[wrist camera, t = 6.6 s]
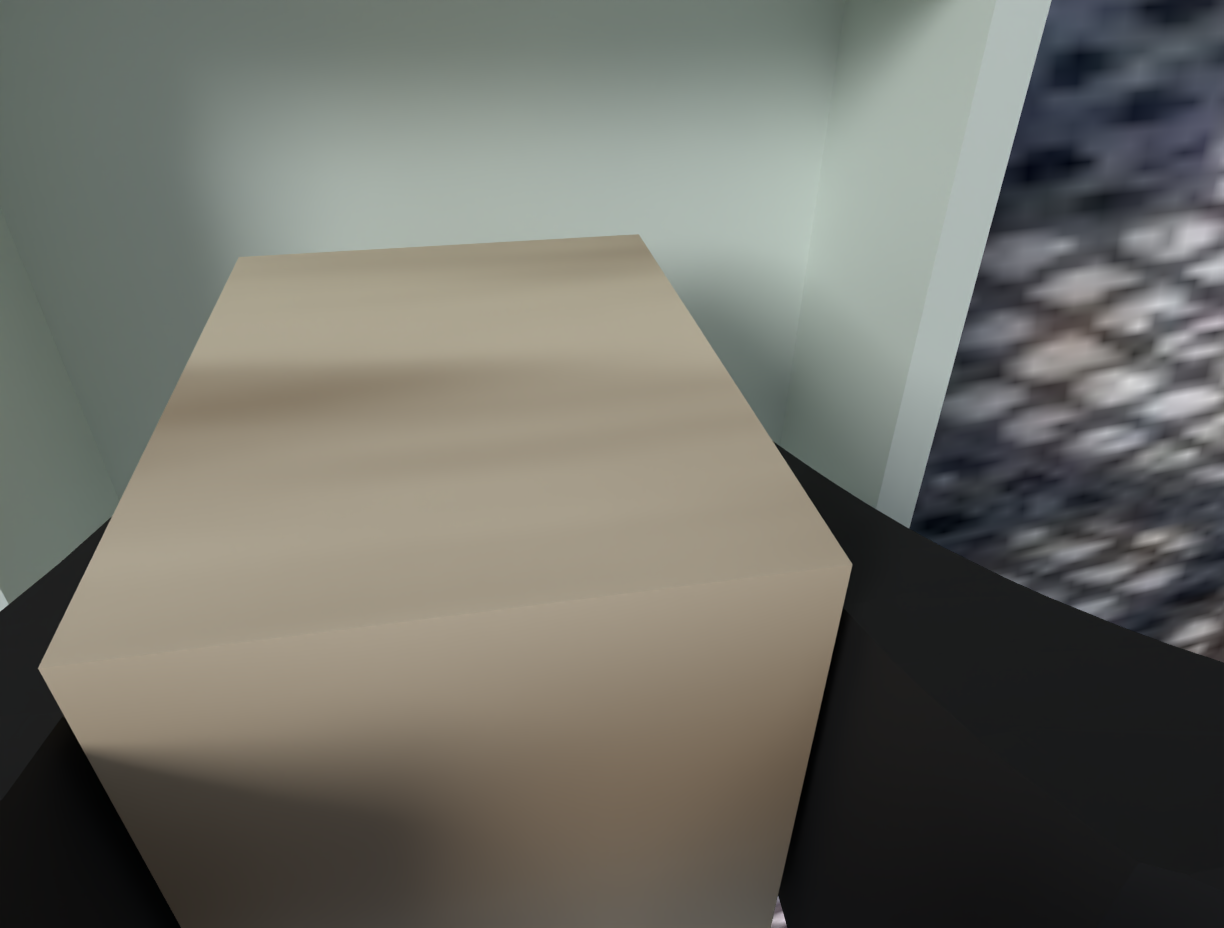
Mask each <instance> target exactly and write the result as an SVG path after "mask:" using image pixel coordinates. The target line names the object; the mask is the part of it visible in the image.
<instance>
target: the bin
mask: <svg viewBox="0 0 1224 928" xmlns="http://www.w3.org/2000/svg"><path fill="white" fill-rule="evenodd" d="M1050 4H1051V0H0V611H1V610H3V609H4V608H5V607H6V606H7V605H9V604H10V603H11V602H12V601H14V600H15V599H16V598H17V597H18V596H20V595H21V594H22V593H23V592H25V591H26V590H27V589H28V588H29V587H31V586H32V585H33V584H34V583H36V582H37V581H38V580H39V579H41V578H42V577H43V576H44V575H45V574H47V573H48V572H49V571H50V570H52V569H53V568H54V567H55V566H56V565H58V564H59V563H60V562H61V561H62V560H63V559H65V558H66V557H67V556H68V555H69V554H70V553H71V552H72V551H74V550H75V549H76V548H77V547H78V546H79V545H80V544H81V543H83V542H84V541H85V540H86V539H87V538H88V537H89V536H90V535H91V534H93V533H94V532H95V531H96V530H97V529H98V528H99V527H100V526H102V525H103V524H104V523H105V522H106V521H107V520H108V519H109V518H110V517H112V516H113V514H114V512H115V510H116V508H117V506H118V503H119V501H120V499H121V497H122V495H123V493H124V491H125V489H126V487H127V485H128V483H129V481H130V479H131V477H132V475H133V473H134V471H135V469H136V467H137V465H138V462H139V460H140V458H141V456H142V454H143V452H144V450H145V448H146V446H147V444H148V442H149V440H150V438H151V436H152V434H153V432H154V430H155V428H156V426H157V424H158V422H159V419H160V417H161V415H162V413H163V411H164V409H165V407H166V405H167V403H168V401H169V399H170V397H171V395H172V393H173V391H174V389H175V387H176V385H177V383H178V381H179V378H180V376H181V374H182V372H183V370H184V368H185V366H186V364H187V362H188V360H189V358H190V356H191V354H192V352H193V350H194V348H195V346H196V344H197V342H198V340H199V338H200V335H201V333H202V331H203V329H204V327H205V325H206V323H207V321H208V319H209V317H210V315H211V313H212V311H213V309H214V307H215V305H216V303H217V301H218V299H219V297H220V294H221V292H222V290H223V288H224V286H225V284H226V282H227V280H228V278H229V276H230V274H231V272H232V270H233V268H234V266H235V264H236V262H237V260H238V258H239V257H248V256H266V255H283V254H301V253H318V252H336V251H353V250H371V249H389V248H406V247H424V246H441V245H459V244H476V243H494V242H512V241H529V240H547V239H564V238H582V237H600V236H617V235H635V234H639V235H640V237H641V239H642V240H643V242H644V243H645V245H646V246H647V248H648V249H649V251H650V252H651V254H652V256H653V257H654V259H655V260H656V262H657V263H658V265H659V266H660V268H661V269H662V271H663V273H664V274H665V276H666V277H667V279H668V280H669V282H670V283H671V285H672V286H673V288H674V290H675V291H676V293H677V294H678V296H679V297H680V299H681V300H682V302H683V303H684V305H685V307H686V308H687V310H688V311H689V313H690V314H691V316H692V317H693V319H694V320H695V322H696V324H697V325H698V327H699V328H700V330H701V331H702V333H703V334H704V336H705V337H706V339H707V341H708V342H709V344H710V345H711V347H712V348H713V350H714V351H715V353H716V354H717V356H718V358H719V359H720V361H721V362H722V364H723V365H724V367H725V368H726V370H727V371H728V373H729V375H730V376H731V378H732V379H733V381H734V382H735V384H736V385H737V387H738V388H739V390H740V392H741V393H742V395H743V396H744V398H745V399H746V401H747V402H748V404H749V405H750V407H751V409H752V410H753V412H754V413H755V415H756V416H757V418H758V419H759V421H760V422H761V424H762V426H763V427H764V429H765V430H766V432H767V433H768V435H769V436H770V438H771V439H772V441H774V442H775V443H777V444H778V445H779V446H781V447H782V448H784V449H785V450H786V451H788V452H789V453H791V454H792V455H794V456H795V457H797V458H798V459H799V460H801V461H802V462H804V463H805V464H807V465H808V466H810V467H811V468H813V469H814V470H816V471H817V472H818V473H820V474H821V475H823V476H824V477H826V478H827V479H829V480H831V481H832V482H834V483H835V484H837V485H838V486H840V487H841V488H843V489H844V490H846V491H848V492H849V493H851V494H852V495H854V496H855V497H857V498H859V499H860V500H862V501H863V502H865V503H867V504H868V505H870V506H872V507H873V508H875V509H877V510H878V511H880V512H882V513H883V514H885V515H887V516H889V517H890V518H892V519H894V520H895V521H897V522H899V523H900V524H902V525H904V526H905V527H907V528H910V524H911V520H912V516H913V513H914V509H915V505H916V502H917V498H918V494H919V490H920V487H921V483H922V479H923V476H924V472H925V468H926V464H927V461H928V457H929V453H930V450H931V446H932V442H933V438H934V435H935V431H936V427H937V424H938V420H939V416H940V412H941V409H942V405H943V401H944V398H945V394H946V390H947V386H948V383H949V379H950V375H951V372H952V368H953V364H954V360H955V357H956V353H957V349H958V346H959V342H960V338H961V334H962V331H963V327H964V323H965V320H966V316H967V312H968V308H969V305H970V301H971V297H972V294H973V290H974V286H975V282H976V279H977V275H978V271H979V268H980V264H981V260H982V256H983V253H984V249H985V245H986V242H987V238H988V234H989V230H990V227H991V223H992V219H993V216H994V212H995V208H996V204H997V201H998V197H999V193H1000V190H1001V186H1002V182H1003V178H1004V175H1005V171H1006V167H1007V164H1008V160H1009V156H1010V152H1011V149H1012V145H1013V141H1014V138H1015V134H1016V130H1017V126H1018V123H1019V119H1020V115H1021V112H1022V108H1023V104H1024V100H1025V97H1026V93H1027V89H1028V86H1029V82H1030V78H1031V74H1032V71H1033V67H1034V63H1035V60H1036V56H1037V52H1038V48H1039V45H1040V41H1041V37H1042V34H1043V30H1044V26H1045V22H1046V19H1047V15H1048V11H1049V8H1050Z"/></svg>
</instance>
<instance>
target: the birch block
mask: <svg viewBox="0 0 1224 928" xmlns="http://www.w3.org/2000/svg"><path fill="white" fill-rule="evenodd" d="M851 569H852V563H851V562H850V560H849V558H848V557H847V555H846V554H845V552H844V551H843V549H842V548H841V546H840V545H839V543H838V541H837V540H836V538H835V537H834V535H833V534H832V532H831V531H830V529H829V528H828V526H827V524H826V523H825V521H824V520H823V518H822V517H821V515H820V514H819V512H818V511H817V509H816V507H815V506H814V504H813V503H812V501H811V500H810V498H809V497H808V495H807V494H806V492H805V490H804V489H803V487H802V486H801V484H800V483H799V481H798V480H797V478H796V477H795V475H794V473H793V472H792V470H791V469H790V467H789V466H788V464H787V463H786V461H785V460H784V458H783V456H782V455H781V453H780V452H779V450H778V449H777V447H776V446H775V444H774V443H773V441H772V439H771V438H770V436H769V435H768V433H767V432H766V430H765V429H764V427H763V426H762V424H761V422H760V421H759V419H758V418H757V416H756V415H755V413H754V412H753V410H752V409H751V407H750V405H749V404H748V402H747V401H746V399H745V398H744V396H743V395H742V393H741V392H740V390H739V388H738V387H737V385H736V384H735V382H734V381H733V379H732V378H731V376H730V375H729V373H728V371H727V370H726V368H725V367H724V365H723V364H722V362H721V361H720V359H719V358H718V356H717V354H716V353H715V351H714V350H713V348H712V347H711V345H710V344H709V342H708V341H707V339H706V337H705V336H704V334H703V333H702V331H701V330H700V328H699V327H698V325H697V324H696V322H695V320H694V319H693V317H692V316H691V314H690V313H689V311H688V310H687V308H686V307H685V305H684V303H683V302H682V300H681V299H680V297H679V296H678V294H677V293H676V291H675V290H674V288H673V286H672V285H671V283H670V282H669V280H668V279H667V277H666V276H665V274H664V273H663V271H662V269H661V268H660V266H659V265H658V263H657V262H656V260H655V259H654V257H653V256H652V254H651V252H650V251H649V249H648V248H647V246H646V245H645V243H644V242H643V240H642V239H641V237H640V235H639V234H635V235H617V236H600V237H582V238H564V239H547V240H529V241H512V242H494V243H476V244H459V245H441V246H424V247H406V248H389V249H371V250H353V251H336V252H318V253H301V254H283V255H266V256H248V257H239V258H238V260H237V262H236V264H235V266H234V268H233V270H232V272H231V274H230V276H229V278H228V280H227V282H226V284H225V286H224V288H223V290H222V292H221V294H220V297H219V299H218V301H217V303H216V305H215V307H214V309H213V311H212V313H211V315H210V317H209V319H208V321H207V323H206V325H205V327H204V329H203V331H202V333H201V335H200V338H199V340H198V342H197V344H196V346H195V348H194V350H193V352H192V354H191V356H190V358H189V360H188V362H187V364H186V366H185V368H184V370H183V372H182V374H181V376H180V378H179V381H178V383H177V385H176V387H175V389H174V391H173V393H172V395H171V397H170V399H169V401H168V403H167V405H166V407H165V409H164V411H163V413H162V415H161V417H160V419H159V422H158V424H157V426H156V428H155V430H154V432H153V434H152V436H151V438H150V440H149V442H148V444H147V446H146V448H145V450H144V452H143V454H142V456H141V458H140V460H139V462H138V465H137V467H136V469H135V471H134V473H133V475H132V477H131V479H130V481H129V483H128V485H127V487H126V489H125V491H124V493H123V495H122V497H121V499H120V501H119V503H118V506H117V508H116V510H115V512H114V514H113V516H112V518H111V520H110V522H109V524H108V526H107V528H106V530H105V532H104V534H103V536H102V538H101V540H100V542H99V544H98V546H97V549H96V551H95V553H94V555H93V557H92V559H91V561H90V563H89V565H88V567H87V569H86V571H85V573H84V575H83V577H82V579H81V581H80V583H79V585H78V587H77V590H76V592H75V594H74V596H73V598H72V600H71V602H70V604H69V606H68V608H67V610H66V612H65V614H64V616H63V618H62V620H61V622H60V624H59V626H58V628H57V630H56V633H55V635H54V637H53V639H52V641H51V643H50V645H49V647H48V649H47V651H46V653H45V655H44V657H43V659H42V661H41V663H40V665H39V667H38V669H39V671H40V673H41V675H42V676H43V678H44V680H45V682H46V684H47V685H48V687H49V689H50V691H51V693H52V695H53V696H54V698H55V700H56V702H57V704H58V705H59V707H60V709H61V711H62V713H63V714H64V716H65V718H66V720H67V722H68V724H69V725H70V727H71V729H72V731H73V733H74V734H75V736H76V738H77V740H78V742H79V744H80V745H81V747H82V749H83V751H84V753H85V754H86V756H87V758H88V760H89V762H90V763H91V765H92V767H93V769H94V771H95V773H96V774H97V776H98V778H99V780H100V782H101V783H102V785H103V787H104V789H105V791H106V792H107V794H108V796H109V798H110V800H111V802H112V803H113V805H114V807H115V809H116V811H117V812H118V814H119V816H120V818H121V820H122V821H123V823H124V825H125V827H126V829H127V831H128V832H129V834H130V836H131V838H132V840H133V841H134V843H135V845H136V847H137V849H138V850H139V852H140V854H141V856H142V858H143V860H144V861H145V863H146V865H147V867H148V869H149V870H150V872H151V874H152V876H153V878H154V879H155V881H156V883H157V885H158V887H159V889H160V890H161V892H162V894H163V896H164V898H165V899H166V901H167V903H168V905H169V907H170V908H171V910H172V912H173V914H174V916H175V918H176V919H177V921H178V923H179V925H180V927H181V928H771V924H772V919H773V915H774V910H775V906H776V901H777V897H778V893H779V888H780V884H781V879H782V875H783V870H784V866H785V861H786V857H787V853H788V848H789V844H790V839H791V835H792V830H793V826H794V822H795V817H796V813H797V808H798V804H799V799H800V795H801V791H802V786H803V782H804V777H805V773H806V768H807V764H808V759H809V755H810V751H811V746H812V742H813V737H814V733H815V728H816V724H817V720H818V715H819V711H820V706H821V702H822V697H823V693H824V689H825V684H826V680H827V675H828V671H829V666H830V662H831V658H832V653H833V649H834V644H835V640H836V635H837V631H838V626H839V622H840V618H841V613H842V609H843V604H844V600H845V595H846V591H847V587H848V582H849V578H850V573H851Z"/></svg>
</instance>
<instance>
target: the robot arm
mask: <svg viewBox="0 0 1224 928" xmlns="http://www.w3.org/2000/svg"><path fill="white" fill-rule="evenodd" d="M773 443H774V444H775V446H776V447H777V449H778V450H779V452H780V453H781V455H782V456H783V458H784V460H785V461H786V463H787V464H788V466H789V467H790V469H791V470H792V472H793V473H794V475H795V477H796V478H797V480H798V481H799V483H800V484H801V486H802V487H803V489H804V490H805V492H806V494H807V495H808V497H809V498H810V500H811V501H812V503H813V504H814V506H815V507H816V509H817V511H818V512H819V514H820V515H821V517H822V518H823V520H824V521H825V523H826V524H827V526H828V528H829V529H830V531H831V532H832V534H833V535H834V537H835V538H836V540H837V541H838V543H839V545H840V546H841V548H842V549H843V551H844V552H845V554H846V555H847V557H848V558H849V560H850V562H851V563H852V569H851V573H850V578H849V582H848V587H847V591H846V595H845V600H844V604H843V609H842V613H841V618H840V622H839V626H838V631H837V635H836V640H835V644H834V649H833V653H832V658H831V662H830V666H829V671H828V675H827V680H826V684H825V689H824V693H823V697H822V702H821V706H820V711H819V715H818V720H817V724H816V728H815V733H814V737H813V742H812V746H811V751H810V755H809V759H808V764H807V768H806V773H805V777H804V782H803V786H802V791H801V795H800V799H799V804H798V808H797V813H796V817H795V822H794V826H793V830H792V835H791V839H790V844H789V848H788V853H787V857H786V861H785V866H784V870H783V875H782V879H781V884H780V888H779V893H778V896H779V899H780V903H781V906H782V910H783V913H784V917H785V921H786V924H787V928H1224V663H1223V662H1220V661H1217V660H1214V659H1211V658H1208V657H1205V656H1202V655H1199V654H1196V653H1193V652H1190V651H1187V650H1184V649H1181V648H1178V647H1175V646H1172V645H1169V644H1167V643H1164V642H1161V641H1159V640H1156V639H1153V638H1150V637H1148V636H1145V635H1142V634H1139V633H1137V632H1134V631H1131V630H1128V629H1126V628H1123V627H1120V626H1118V625H1115V624H1113V623H1110V622H1108V621H1105V620H1103V619H1100V618H1098V617H1096V616H1093V615H1091V614H1088V613H1086V612H1083V611H1081V610H1078V609H1076V608H1074V607H1071V606H1069V605H1066V604H1064V603H1061V602H1059V601H1056V600H1054V599H1052V598H1049V597H1047V596H1044V595H1042V594H1040V593H1038V592H1035V591H1033V590H1031V589H1029V588H1026V587H1024V586H1022V585H1020V584H1017V583H1015V582H1013V581H1011V580H1008V579H1006V578H1004V577H1002V576H1000V575H998V574H996V573H994V572H992V571H990V570H988V569H986V568H984V567H982V566H980V565H978V564H976V563H974V562H972V561H970V560H968V559H966V558H964V557H962V556H960V555H958V554H956V553H954V552H952V551H950V550H948V549H946V548H944V547H942V546H940V545H938V544H936V543H934V542H932V541H931V540H929V539H927V538H925V537H923V536H921V535H919V534H918V533H916V532H914V531H912V530H910V529H909V528H907V527H905V526H904V525H902V524H900V523H899V522H897V521H895V520H894V519H892V518H890V517H889V516H887V515H885V514H883V513H882V512H880V511H878V510H877V509H875V508H873V507H872V506H870V505H868V504H867V503H865V502H863V501H862V500H860V499H859V498H857V497H855V496H854V495H852V494H851V493H849V492H848V491H846V490H844V489H843V488H841V487H840V486H838V485H837V484H835V483H834V482H832V481H831V480H829V479H827V478H826V477H824V476H823V475H821V474H820V473H818V472H817V471H816V470H814V469H813V468H811V467H810V466H808V465H807V464H805V463H804V462H802V461H801V460H799V459H798V458H797V457H795V456H794V455H792V454H791V453H789V452H788V451H786V450H785V449H784V448H782V447H781V446H779V445H778V444H777V443H775V442H774V441H773ZM111 518H112V517H110V518H109V519H108V520H107V521H106V522H105V523H104V524H103V525H102V526H100V527H99V528H98V529H97V530H96V531H95V532H94V533H93V534H91V535H90V536H89V537H88V538H87V539H86V540H85V541H84V542H83V543H81V544H80V545H79V546H78V547H77V548H76V549H75V550H74V551H72V552H71V553H70V554H69V555H68V556H67V557H66V558H65V559H63V560H62V561H61V562H60V563H59V564H58V565H56V566H55V567H54V568H53V569H52V570H50V571H49V572H48V573H47V574H45V575H44V576H43V577H42V578H41V579H39V580H38V581H37V582H36V583H34V584H33V585H32V586H31V587H29V588H28V589H27V590H26V591H25V592H23V593H22V594H21V595H20V596H18V597H17V598H16V599H15V600H14V601H12V602H11V603H10V604H9V605H7V606H6V607H5V608H4V609H3V610H1V611H0V928H181V927H180V925H179V923H178V921H177V919H176V918H175V916H174V914H173V912H172V910H171V908H170V907H169V905H168V903H167V901H166V899H165V898H164V896H163V894H162V892H161V890H160V889H159V887H158V885H157V883H156V881H155V879H154V878H153V876H152V874H151V872H150V870H149V869H148V867H147V865H146V863H145V861H144V860H143V858H142V856H141V854H140V852H139V850H138V849H137V847H136V845H135V843H134V841H133V840H132V838H131V836H130V834H129V832H128V831H127V829H126V827H125V825H124V823H123V821H122V820H121V818H120V816H119V814H118V812H117V811H116V809H115V807H114V805H113V803H112V802H111V800H110V798H109V796H108V794H107V792H106V791H105V789H104V787H103V785H102V783H101V782H100V780H99V778H98V776H97V774H96V773H95V771H94V769H93V767H92V765H91V763H90V762H89V760H88V758H87V756H86V754H85V753H84V751H83V749H82V747H81V745H80V744H79V742H78V740H77V738H76V736H75V734H74V733H73V731H72V729H71V727H70V725H69V724H68V722H67V720H66V718H65V716H64V714H63V713H62V711H61V709H60V707H59V705H58V704H57V702H56V700H55V698H54V696H53V695H52V693H51V691H50V689H49V687H48V685H47V684H46V682H45V680H44V678H43V676H42V675H41V673H40V671H39V669H38V667H39V665H40V663H41V661H42V659H43V657H44V655H45V653H46V651H47V649H48V647H49V645H50V643H51V641H52V639H53V637H54V635H55V633H56V630H57V628H58V626H59V624H60V622H61V620H62V618H63V616H64V614H65V612H66V610H67V608H68V606H69V604H70V602H71V600H72V598H73V596H74V594H75V592H76V590H77V587H78V585H79V583H80V581H81V579H82V577H83V575H84V573H85V571H86V569H87V567H88V565H89V563H90V561H91V559H92V557H93V555H94V553H95V551H96V549H97V546H98V544H99V542H100V540H101V538H102V536H103V534H104V532H105V530H106V528H107V526H108V524H109V522H110V520H111Z"/></svg>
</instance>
